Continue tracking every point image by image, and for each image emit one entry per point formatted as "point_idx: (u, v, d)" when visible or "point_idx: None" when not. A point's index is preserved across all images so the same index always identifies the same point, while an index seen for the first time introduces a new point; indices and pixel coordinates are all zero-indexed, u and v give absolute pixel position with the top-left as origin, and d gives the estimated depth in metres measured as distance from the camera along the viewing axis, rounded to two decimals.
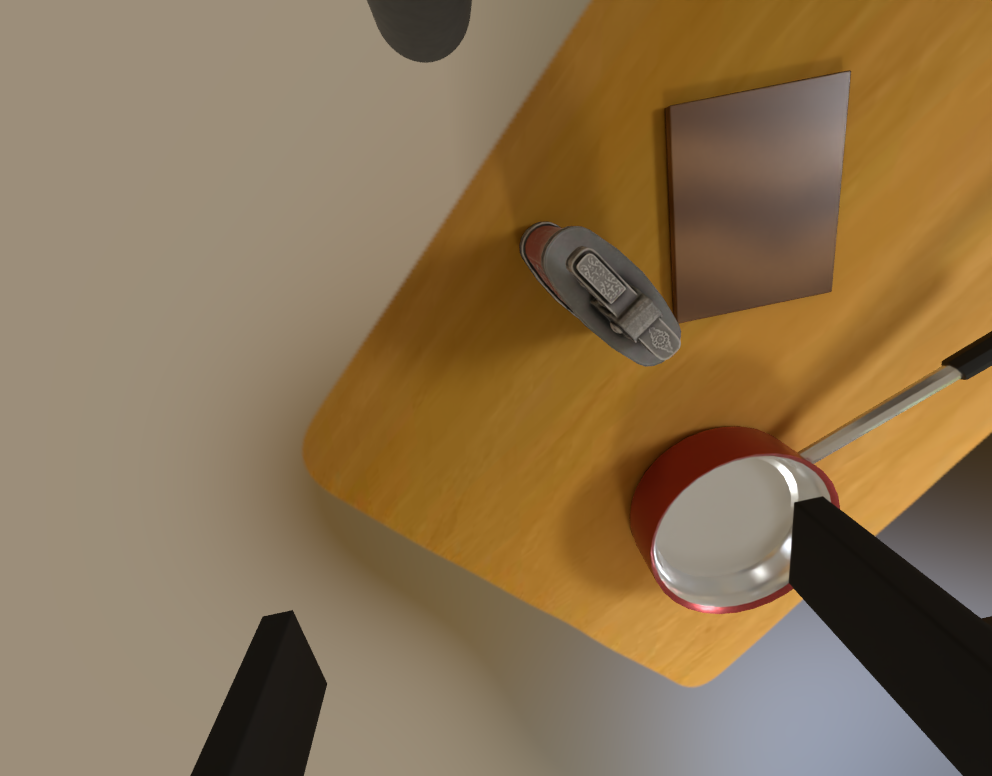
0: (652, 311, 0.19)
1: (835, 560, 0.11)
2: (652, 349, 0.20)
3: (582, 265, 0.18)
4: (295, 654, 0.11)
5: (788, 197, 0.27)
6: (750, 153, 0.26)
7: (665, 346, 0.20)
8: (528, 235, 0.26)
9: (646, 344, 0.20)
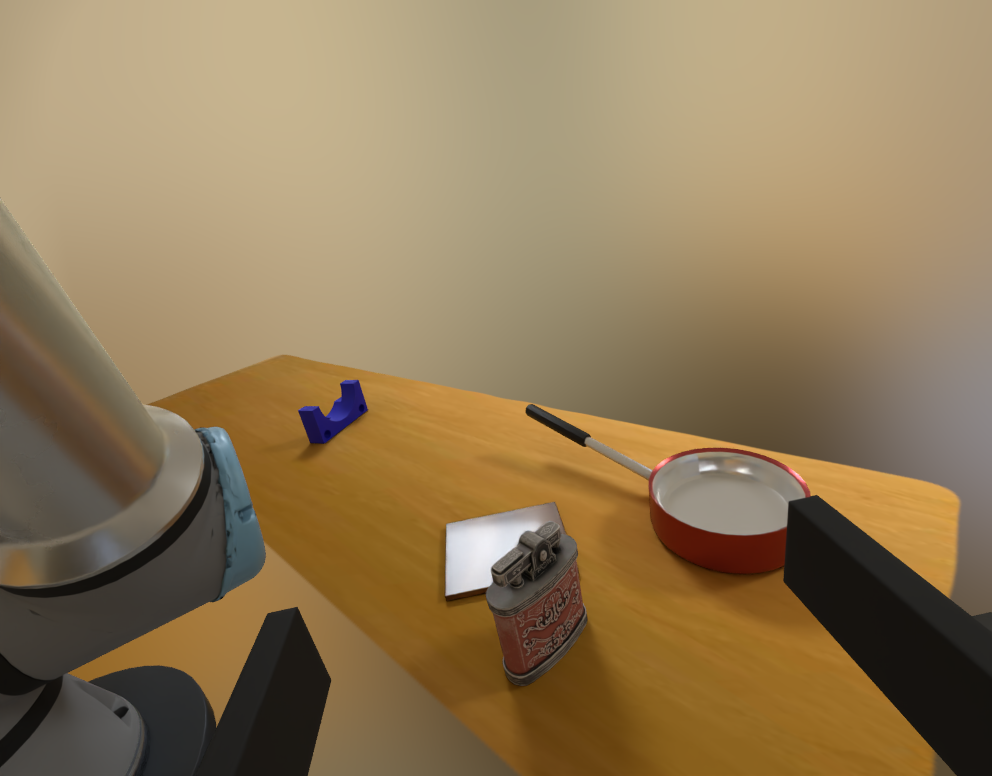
0: (527, 533, 0.33)
1: (829, 559, 0.11)
2: (553, 532, 0.33)
3: (498, 569, 0.30)
4: (300, 650, 0.11)
5: (501, 532, 0.47)
6: (476, 553, 0.45)
7: (551, 527, 0.33)
8: (511, 672, 0.33)
9: (549, 535, 0.33)
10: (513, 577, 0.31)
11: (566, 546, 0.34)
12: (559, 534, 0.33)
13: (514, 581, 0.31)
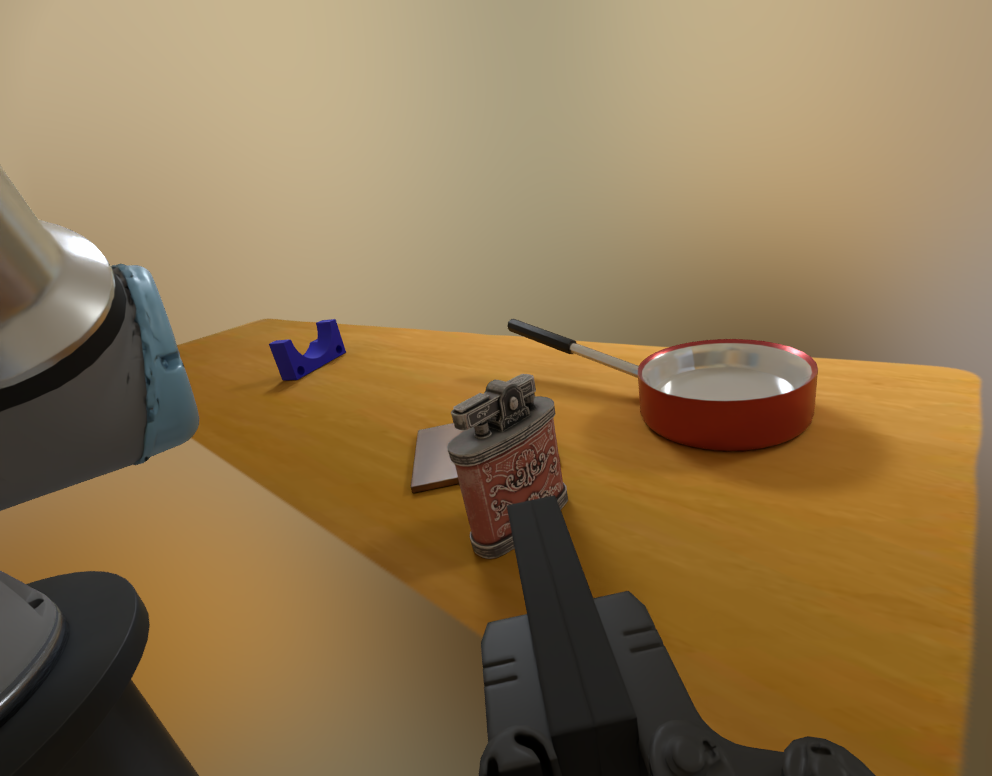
0: (496, 381, 0.28)
1: None
2: (525, 380, 0.29)
3: (460, 409, 0.26)
4: None
5: None
6: None
7: (523, 377, 0.29)
8: (478, 543, 0.29)
9: (521, 383, 0.28)
10: (477, 421, 0.26)
11: (542, 404, 0.30)
12: (533, 386, 0.29)
13: (480, 430, 0.27)
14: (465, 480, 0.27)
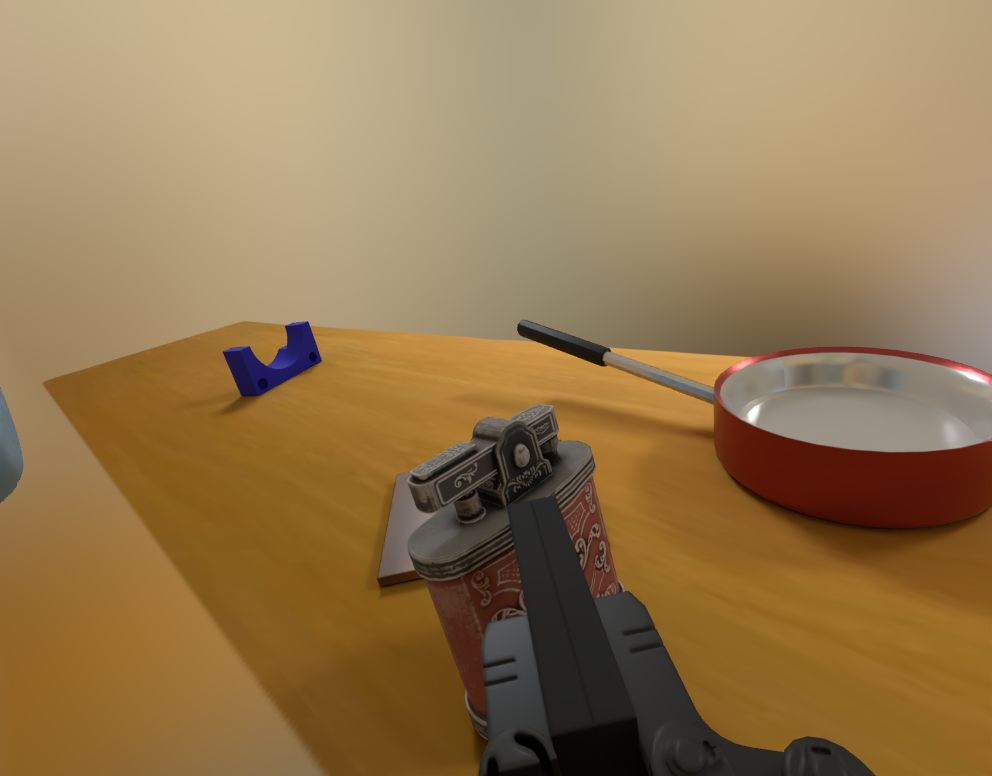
0: (489, 419, 0.17)
1: None
2: (540, 415, 0.17)
3: (422, 473, 0.14)
4: None
5: None
6: None
7: (536, 410, 0.17)
8: (479, 715, 0.16)
9: (533, 419, 0.16)
10: (457, 493, 0.14)
11: (572, 453, 0.18)
12: (554, 423, 0.17)
13: (464, 508, 0.15)
14: (443, 605, 0.15)
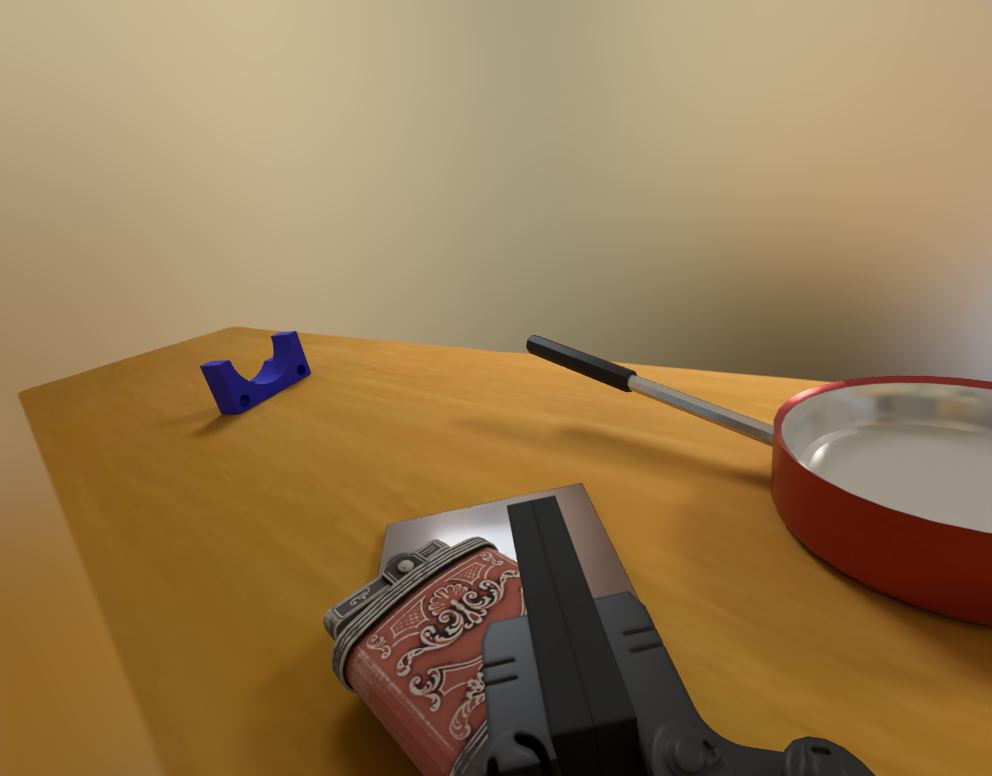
0: None
1: None
2: (425, 546, 0.22)
3: None
4: None
5: (485, 539, 0.25)
6: None
7: None
8: None
9: (418, 550, 0.22)
10: (353, 608, 0.19)
11: None
12: (440, 544, 0.22)
13: None
14: (361, 689, 0.16)
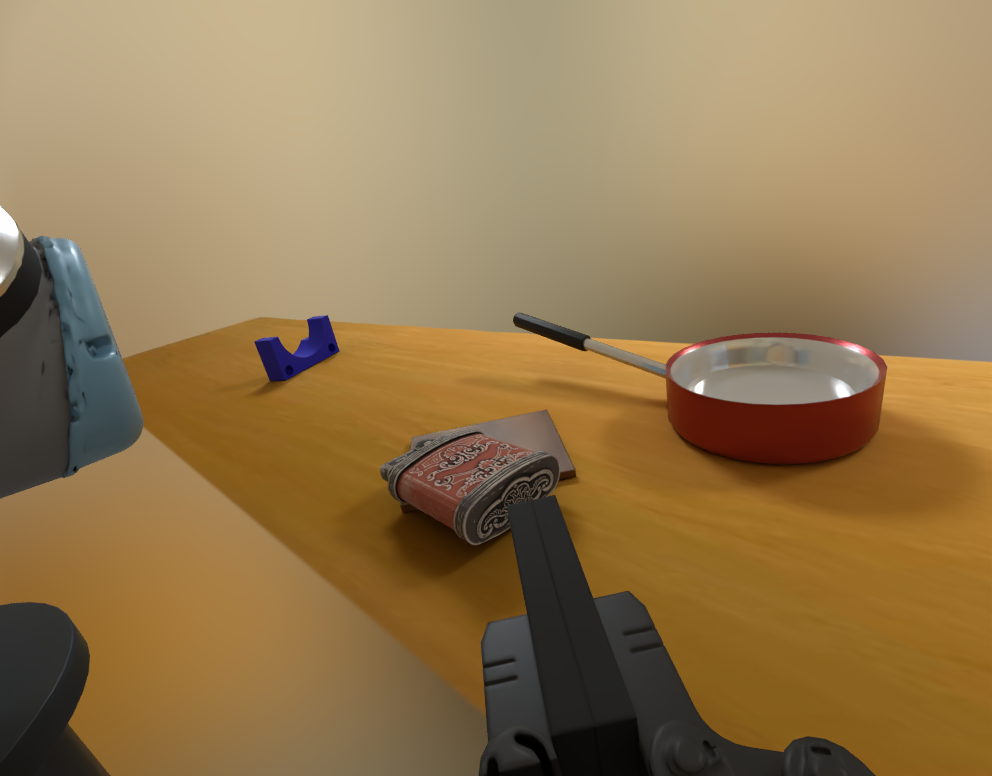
0: None
1: None
2: (440, 437, 0.35)
3: None
4: None
5: None
6: None
7: None
8: None
9: (436, 439, 0.34)
10: (398, 463, 0.31)
11: None
12: None
13: None
14: (406, 492, 0.28)
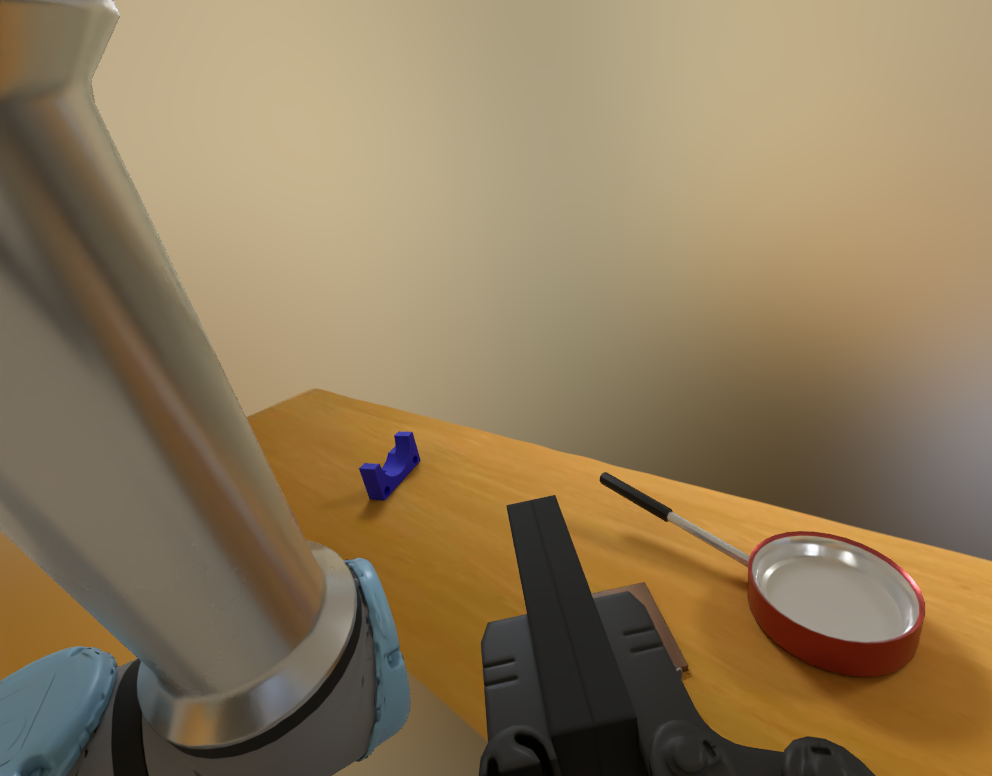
0: None
1: None
2: None
3: None
4: None
5: None
6: None
7: None
8: None
9: None
10: None
11: None
12: None
13: None
14: None
